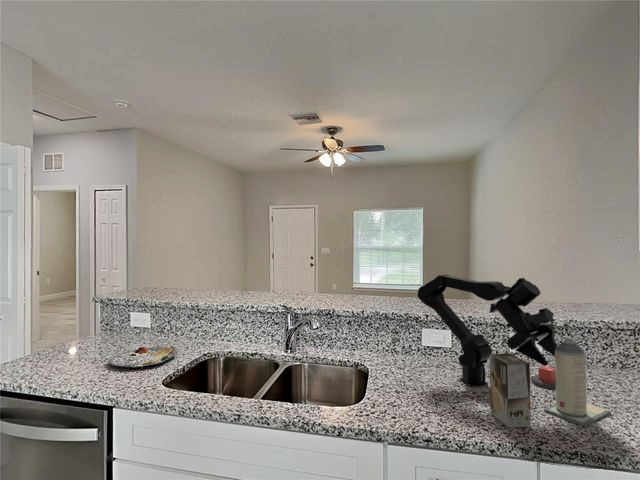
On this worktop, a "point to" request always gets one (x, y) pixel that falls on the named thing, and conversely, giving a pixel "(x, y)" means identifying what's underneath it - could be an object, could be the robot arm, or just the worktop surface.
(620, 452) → the worktop surface
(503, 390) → the coffee box
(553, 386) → the red die on its tray
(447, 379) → the worktop surface
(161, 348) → the food plate
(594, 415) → the game board
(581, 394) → the aerosol can
